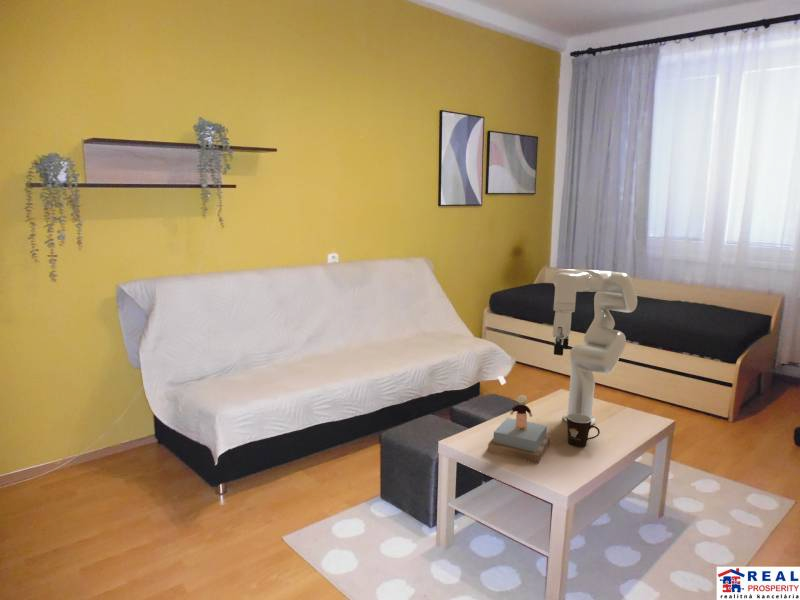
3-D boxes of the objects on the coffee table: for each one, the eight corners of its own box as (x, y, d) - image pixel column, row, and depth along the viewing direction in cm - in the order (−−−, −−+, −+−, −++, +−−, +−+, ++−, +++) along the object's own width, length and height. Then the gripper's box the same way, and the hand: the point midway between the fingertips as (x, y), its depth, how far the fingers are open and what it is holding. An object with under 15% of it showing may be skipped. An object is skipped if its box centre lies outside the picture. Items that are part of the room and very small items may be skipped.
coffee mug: (560, 440, 208) (562, 415, 206) (579, 437, 211) (581, 412, 209) (580, 453, 197) (582, 427, 195) (599, 450, 200) (602, 424, 198)
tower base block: (502, 435, 213) (502, 425, 212) (549, 445, 205) (550, 435, 204) (487, 454, 197) (488, 443, 196) (538, 466, 189) (539, 455, 188)
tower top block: (506, 427, 211) (507, 417, 210) (546, 436, 204) (546, 425, 203) (493, 442, 198) (493, 431, 197) (534, 452, 191) (535, 441, 190)
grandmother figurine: (529, 426, 202) (531, 393, 200) (532, 431, 198) (534, 397, 196) (508, 426, 202) (510, 393, 199) (510, 430, 198) (512, 397, 196)
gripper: (558, 301, 212) (555, 344, 215) (548, 309, 196) (545, 356, 200) (578, 303, 208) (575, 347, 212) (570, 311, 193) (566, 359, 196)
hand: (560, 351), depth 206 cm, fingers open, 9 cm apart
